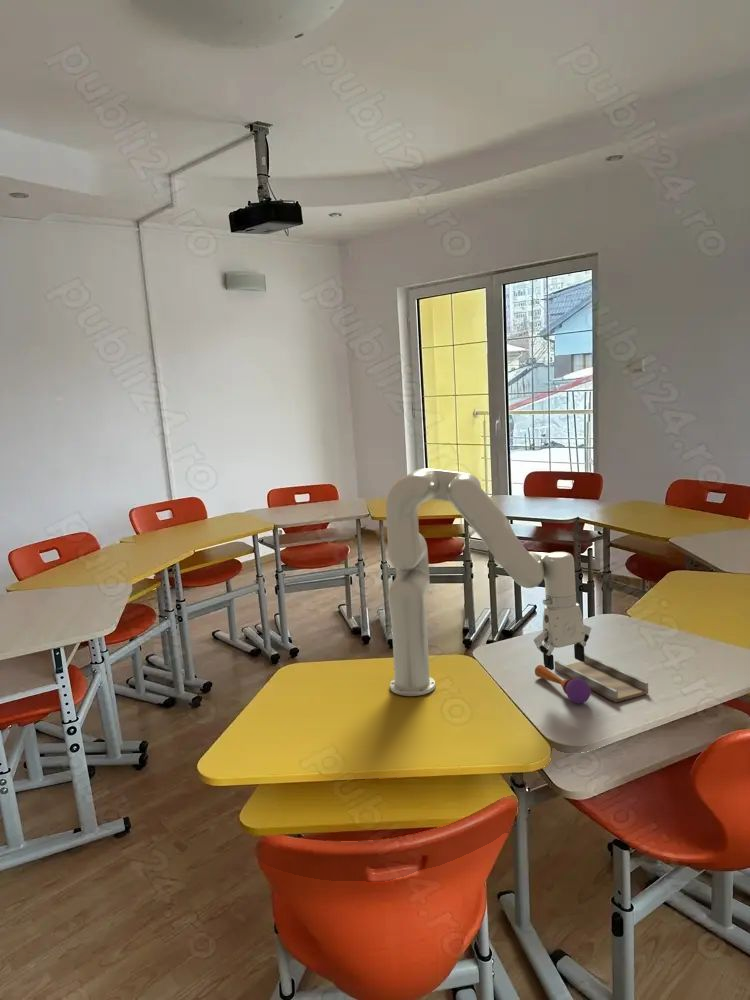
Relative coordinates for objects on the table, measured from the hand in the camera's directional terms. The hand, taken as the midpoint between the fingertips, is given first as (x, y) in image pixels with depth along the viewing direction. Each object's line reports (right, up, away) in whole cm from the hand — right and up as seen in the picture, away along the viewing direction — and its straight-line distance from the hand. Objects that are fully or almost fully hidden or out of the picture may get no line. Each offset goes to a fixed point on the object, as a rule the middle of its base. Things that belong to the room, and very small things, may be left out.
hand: (564, 664), depth 174 cm
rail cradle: (+11, -6, +5) cm, 14 cm away
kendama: (0, -7, +1) cm, 7 cm away
